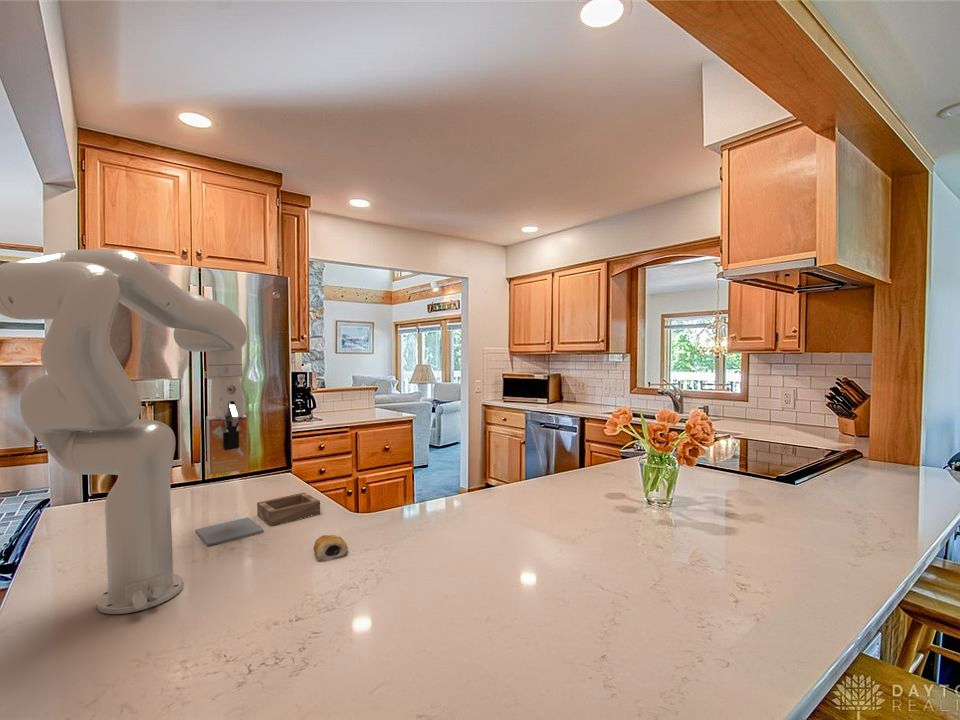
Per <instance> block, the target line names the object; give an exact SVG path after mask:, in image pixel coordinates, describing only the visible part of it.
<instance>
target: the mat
mask: <svg viewBox="0 0 960 720" xmlns="http://www.w3.org/2000/svg"><path fill="white" fill-rule="evenodd" d="M194 530H195V533H196V535H197V534H198V535H197V536H198V537H199V538H200V539H201V541H202V540H203V541H202V542H203V543H204V544H205V546H206V547H211V546H212V547H214V546H216V545H219V544H223V543H227V542H231V541H235V540H236V541H237V540H239V539H242V538H247V537H251V536H255V535H259V534H262V533H264V528H263V527H261V526H259V524H258V523H256V522H255V521H253V520H252V519H251V518H250V517H248V516H247V517H244V518H239V519H235V520H231V521H227V522H223V523H222V522H221V523H218V524H217V523H216V524H213V525H210V526H204V527H200V528H195V529H194Z"/></svg>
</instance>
